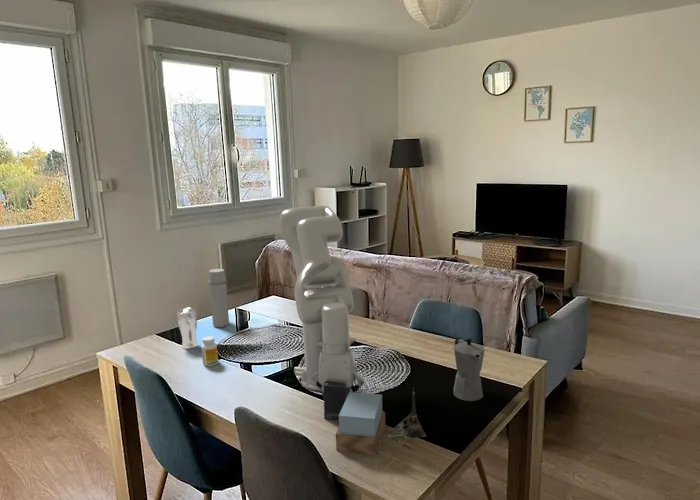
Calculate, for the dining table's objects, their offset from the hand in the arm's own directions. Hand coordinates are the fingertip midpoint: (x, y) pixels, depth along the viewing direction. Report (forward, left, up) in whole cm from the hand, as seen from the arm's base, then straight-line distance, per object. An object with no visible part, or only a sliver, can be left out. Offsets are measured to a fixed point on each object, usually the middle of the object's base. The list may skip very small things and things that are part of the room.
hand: (338, 403), depth 141 cm
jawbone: (-16, +46, -3) cm, 48 cm away
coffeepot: (+36, +18, -2) cm, 40 cm away
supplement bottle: (-55, +22, -2) cm, 59 cm away
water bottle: (-72, +60, -2) cm, 94 cm away
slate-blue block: (+10, -12, +2) cm, 16 cm away
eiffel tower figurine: (+22, -6, -3) cm, 23 cm away
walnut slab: (+10, -12, -3) cm, 16 cm away
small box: (0, 0, -2) cm, 2 cm away
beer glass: (-72, +35, -2) cm, 80 cm away
